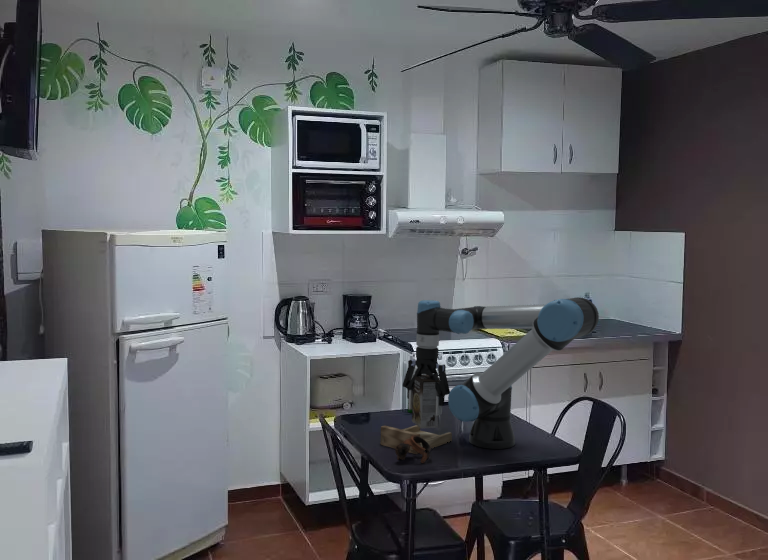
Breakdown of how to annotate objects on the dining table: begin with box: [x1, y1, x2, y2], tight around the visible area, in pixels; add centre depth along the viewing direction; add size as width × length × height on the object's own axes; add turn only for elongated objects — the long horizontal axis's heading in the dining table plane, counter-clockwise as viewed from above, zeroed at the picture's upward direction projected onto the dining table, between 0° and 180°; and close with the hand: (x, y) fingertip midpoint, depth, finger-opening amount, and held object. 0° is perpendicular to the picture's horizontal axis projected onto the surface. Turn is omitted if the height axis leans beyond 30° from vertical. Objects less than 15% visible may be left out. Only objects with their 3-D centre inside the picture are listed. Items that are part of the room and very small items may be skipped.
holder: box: [379, 424, 453, 455], centre depth 236 cm, size 15×20×6 cm
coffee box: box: [411, 375, 440, 429], centre depth 239 cm, size 9×6×16 cm
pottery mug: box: [394, 435, 432, 464], centre depth 218 cm, size 12×10×8 cm
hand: (425, 411), depth 239 cm, fingers closed on coffee box, 11 cm apart
